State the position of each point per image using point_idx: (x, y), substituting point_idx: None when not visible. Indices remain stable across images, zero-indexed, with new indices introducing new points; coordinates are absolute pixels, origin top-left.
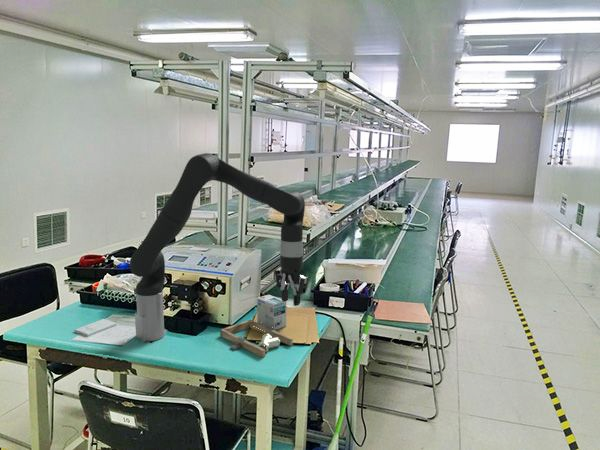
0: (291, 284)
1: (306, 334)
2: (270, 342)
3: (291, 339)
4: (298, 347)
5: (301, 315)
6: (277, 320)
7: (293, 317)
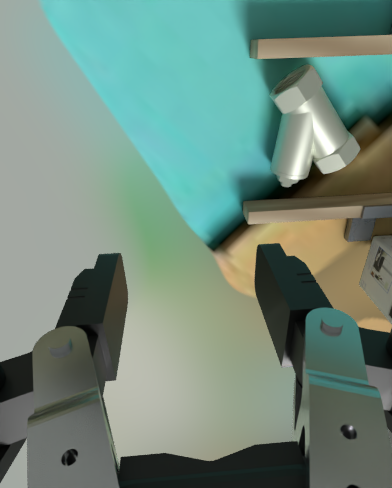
0: (86, 460)
1: None
2: (289, 129)
3: (248, 216)
4: (214, 215)
5: None
6: (387, 268)
7: None
